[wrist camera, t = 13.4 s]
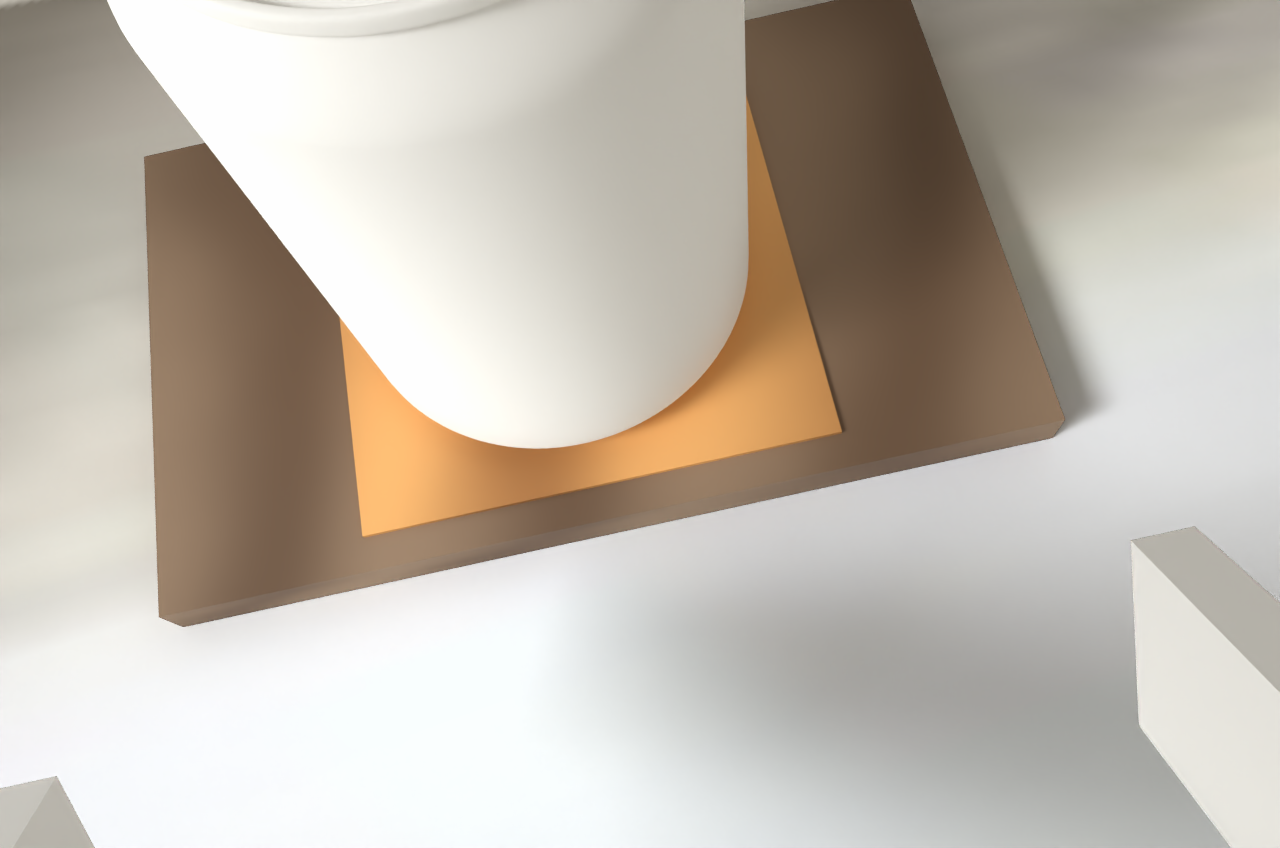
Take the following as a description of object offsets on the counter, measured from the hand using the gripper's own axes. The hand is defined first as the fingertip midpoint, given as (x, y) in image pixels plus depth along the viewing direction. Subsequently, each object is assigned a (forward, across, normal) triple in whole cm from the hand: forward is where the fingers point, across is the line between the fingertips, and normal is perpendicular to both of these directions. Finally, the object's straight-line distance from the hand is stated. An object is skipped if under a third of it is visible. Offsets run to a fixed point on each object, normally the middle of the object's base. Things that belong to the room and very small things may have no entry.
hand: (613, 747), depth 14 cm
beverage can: (+12, 0, +2) cm, 12 cm away
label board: (+13, 0, +2) cm, 13 cm away
